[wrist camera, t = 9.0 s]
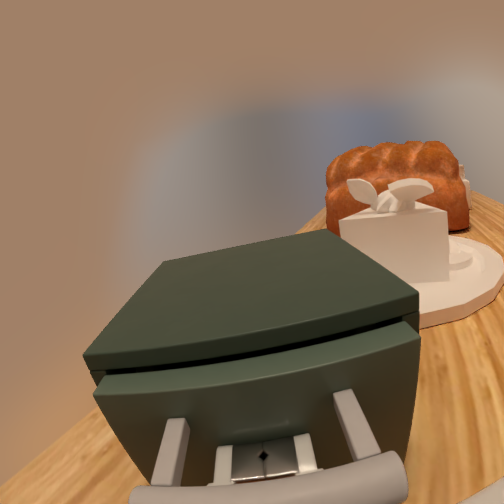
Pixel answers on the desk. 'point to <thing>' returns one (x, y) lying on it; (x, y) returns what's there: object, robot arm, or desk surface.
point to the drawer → (274, 418)
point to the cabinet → (251, 303)
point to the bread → (393, 169)
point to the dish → (423, 250)
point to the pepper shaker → (467, 185)
